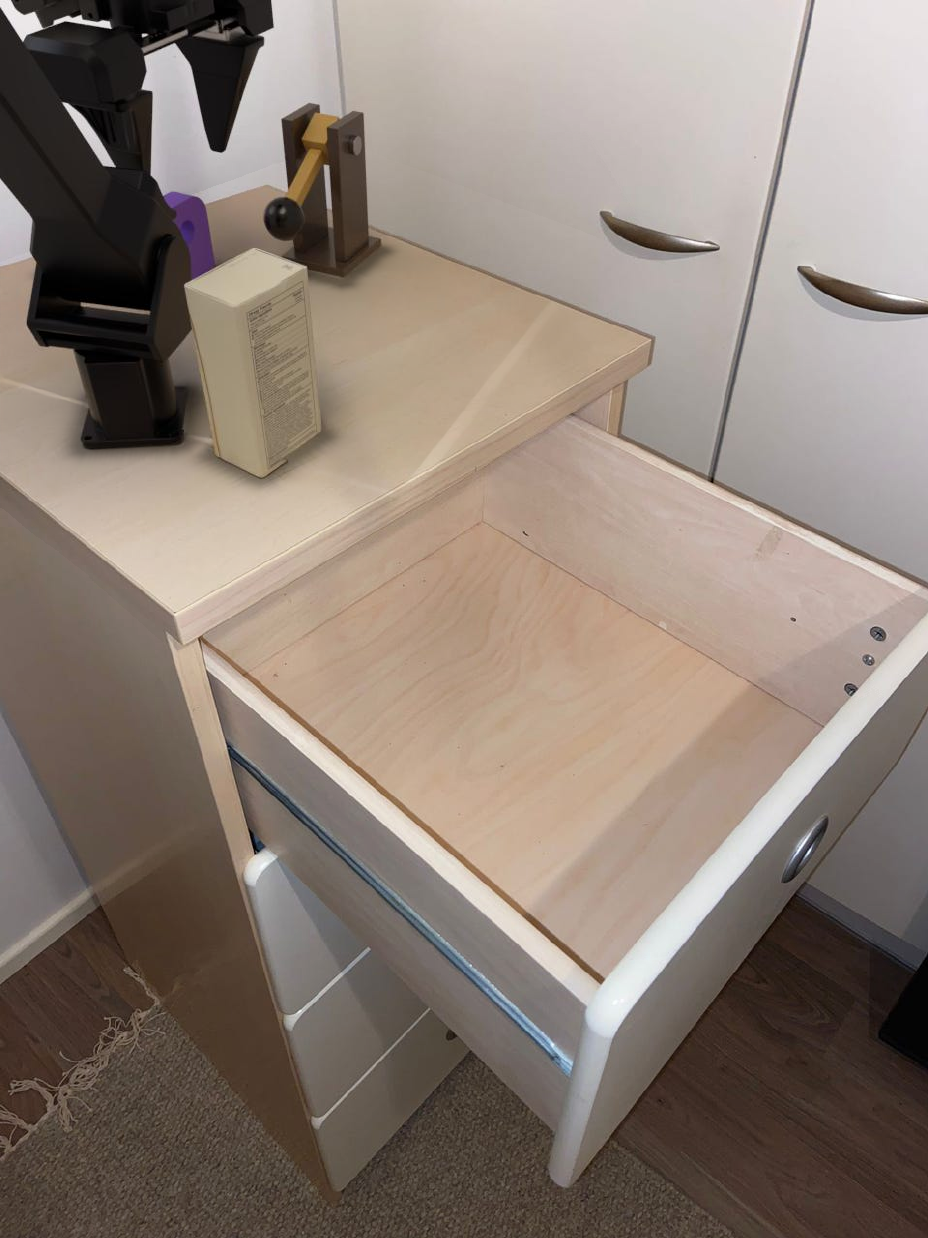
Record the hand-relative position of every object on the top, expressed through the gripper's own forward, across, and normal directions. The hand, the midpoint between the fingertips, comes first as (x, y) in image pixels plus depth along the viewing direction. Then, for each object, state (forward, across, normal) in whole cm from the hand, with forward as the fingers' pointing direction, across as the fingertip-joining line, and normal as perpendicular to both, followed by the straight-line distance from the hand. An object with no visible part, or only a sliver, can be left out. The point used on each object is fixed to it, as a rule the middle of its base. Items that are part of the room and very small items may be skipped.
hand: (181, 172), depth 68 cm
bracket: (+12, -6, -11) cm, 18 cm away
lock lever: (+5, -13, +3) cm, 14 cm away
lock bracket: (+12, -15, +3) cm, 20 cm away
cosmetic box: (+12, +11, +12) cm, 21 cm away
